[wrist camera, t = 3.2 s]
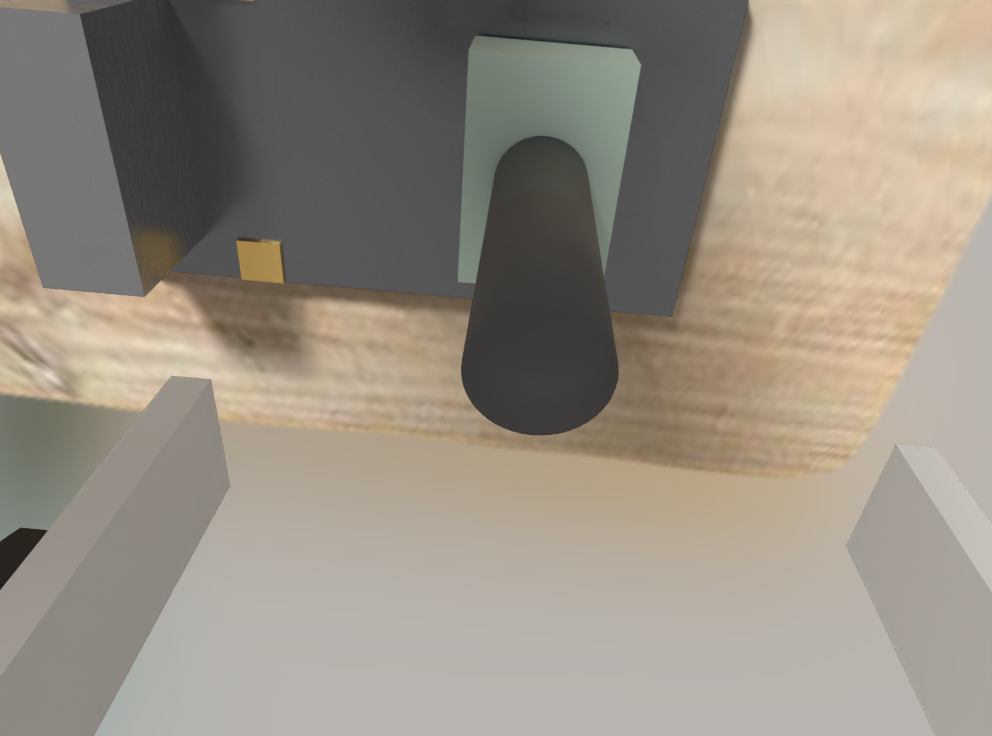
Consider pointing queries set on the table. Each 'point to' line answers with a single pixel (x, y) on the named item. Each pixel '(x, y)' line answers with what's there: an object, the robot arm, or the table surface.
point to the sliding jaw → (541, 227)
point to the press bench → (323, 136)
